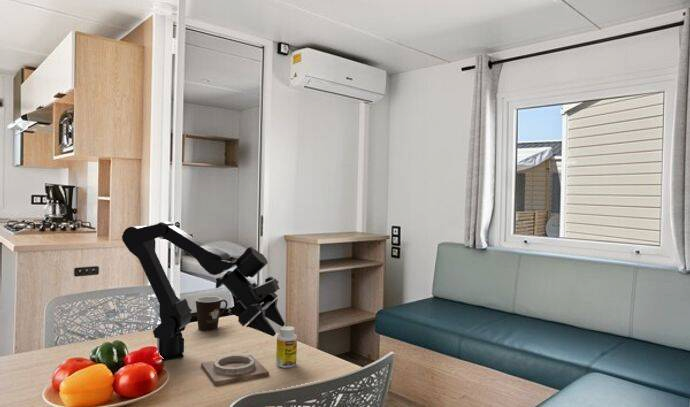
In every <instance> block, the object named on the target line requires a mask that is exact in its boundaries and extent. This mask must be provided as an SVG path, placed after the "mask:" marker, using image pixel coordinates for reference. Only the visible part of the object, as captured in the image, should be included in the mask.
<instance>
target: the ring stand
mask: <svg viewBox="0 0 690 407" xmlns="http://www.w3.org/2000/svg"><path fill="white" fill-rule="evenodd" d="M200 367H201V369H203V370H202V371H204V373H205V374H206V375H207V377H208V378H209V379H210V382H212V384H213V385H214V386H219V385H220V386H221V385H226V384H231V383H236V382H241V381H247V380H253V379H257V378H263V377H268V376H270V371H269V370H268V369H267V368H266V367H265V366H264V365H263V364H262V363H260V361H258V360H257V359H256V358H255V356H253V355H252V354H248V355H247V354H228V355H223V356H221V357H218V358H216V359H215V360H209V361H204V362H200Z"/></svg>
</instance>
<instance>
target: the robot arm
mask: <svg viewBox="0 0 690 407" xmlns="http://www.w3.org/2000/svg"><path fill="white" fill-rule="evenodd" d="M158 238H163V239H165V240H166V241H168V242H169V243H171V244H173V245H174V246H176V247H177V248H179V249H180V250H182V251H183V252H185V253H187V254H189V255H190V256H191V257H193V258H194V259H195V260H197V262H198V265H199V266H201V268H203V269H204V270H205V271H206V272H207V273H208V274H209V275H212V276H217V275H220V274H223V273H224V272H225V273H224V274H223V275H222V276H218V277H216V279H215V280H216V282H215V288H216V289H219V288H220V287H223V286H224V287H225V288H226V289H227V290H228V292H230V293H231V295H232V296H233V297H234V299H233V301H234V302H235V303H236V304H237V303H238V302H239V303H240V304H241V305H242V307H243V308H244V311H242V313H241V314H239V316H238V319H237V320H238V323H239V324H240V325H241V326H242V327H246V328H250V329H253V330H255V331H259V332H262V333H264V334H266V335H269V336H271V337H275V336H276V334H277V332H276V331H275V329H274V328H273V326H272V325H271V323H270V322H269V320H270V321H271V322H272V323H274V324H277V325H278V326H280V327H284V326H286V323H285V321H284V319H283V317H282V314H281V313H280V310H279V308H278V301H279V299H278V295H277V293H276V292H278V290H280V286H279V280H277V278H274V277H273V276H269V277H267V278H265V279H264V283H262V284H260V285H258V284H257V283H256V282H253V283H252V282H251V281H250V280H249V279H248V278H249V277H250V278H255V276H257V274H258V273H259V272H261V270H263V268H264V267H265V266H266V265H267V264H268V260H267V258H266V257H265V255H264V254H262V253H261V252H260V251H259V250H257V249H255V248H253V246H249V247H247V248H246V250H245V251H244V252H243V253H242V254H241V255H240V256H239V257H235V256H232V255H230V254H229V253H227V251H226V252H225V251H224V250H220V249H219V248H215V247H211V246H209V245H206V244H204V243H202V242H201V241H199V239H196V238H195V237H194V236H191V235H190V234H189V233H187V232H185V231H184V230H182V229H181V228H179V227H177V226H176V225H175V224H174V223H173V222H171V221H162V222H161V221H159V222H158V223H155V224H151V225H135V226H129V227H127V228H125V229H124V231H123V232H122V235H121V241H122V242H123V244H124V246H125V247H126V249H127V250H128V251H129V252H130V253H131V254H132V255H134V256H135V257H136V258H137V259H138V261H139V263H140V265H141V268H142V269H143V272H144V274H145V276H146V278H147V280H148V282H149V284H150V287H151V289H152V291H153V294H154V295H155V297H156V299H157V302H158V304H159V306H158V307H159V308H158V309H159V310H158V311H159V312H158V313H159V314H158V316H159V319H160V323H159V324H158V325H157V326H156V327H155V328H154V329H153V330H152V334H153V337H154V338H155V339H156V340H157V342H156V346H157V348H158V350H159V353H160V355H161V356H162V357H163V358H164V360H163V361H166V360H173V359H179V358H183V357H184V353H185V338H184V337H183V333H182V332H183V331H185V329H186V327H187V326H188V325H189V324H190V322H191V319H192V313H191V312H192V311H193V310H192V309H191V308H190V306H189V304H188V300H187V299H186V298H184V299H180V298H179V297H178V296H177V295H176V294H175V291H174V289H173V287H172V285H171V283H170V280H169V279H168V278H169V277H168V276H167V274H166V272H165V270H164V268H163V264H162V263H161V262H160V259H159V257H158V255H157V252H156V239H158ZM232 268H234V269H233V270H230V269H232ZM157 348H156V349H157Z"/></svg>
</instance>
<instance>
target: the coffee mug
mask: <svg viewBox="0 0 690 407" xmlns="http://www.w3.org/2000/svg"><path fill="white" fill-rule="evenodd" d="M222 302H224V303H225V306H224V307H223V310H221V305H222ZM195 307H196V317H197V318H196V319H197V329H198V330H199V331H202V332H209V331H214V330H218V329H219V328H218V327H219V320H220V316H222V315H223V313H224V312H225V311H226V309H227V307H228V301H227V300H226V299H222V297H220V296H200V297H197V298H195Z"/></svg>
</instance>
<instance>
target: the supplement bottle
mask: <svg viewBox="0 0 690 407" xmlns="http://www.w3.org/2000/svg"><path fill="white" fill-rule="evenodd" d="M297 348H298V335H297V334H295V327H293V326H288V325H287V326H286V325H284V326H283V327H282V326H280V328H279V334H277V336H276V353H275V354H276V355H275V356H276V357H275V359H276V360H275V363H276V366H277V367H280V368H284V369H287V368H293V367H294V366H296V365H297Z"/></svg>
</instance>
